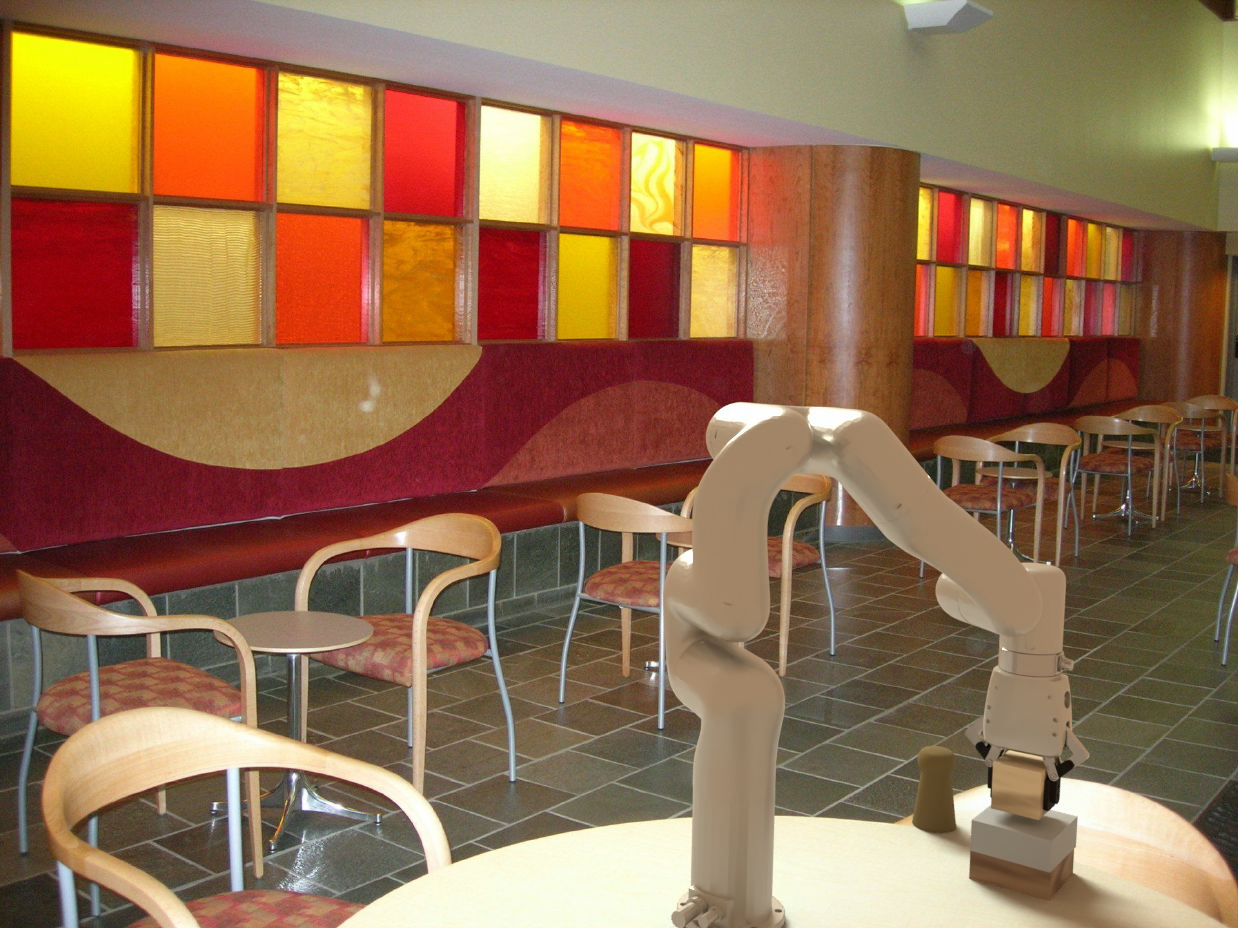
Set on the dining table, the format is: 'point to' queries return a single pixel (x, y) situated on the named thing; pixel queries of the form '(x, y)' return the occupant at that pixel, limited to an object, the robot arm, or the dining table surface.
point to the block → (1019, 784)
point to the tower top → (1024, 837)
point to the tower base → (1020, 875)
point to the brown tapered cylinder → (935, 791)
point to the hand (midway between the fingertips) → (1022, 799)
